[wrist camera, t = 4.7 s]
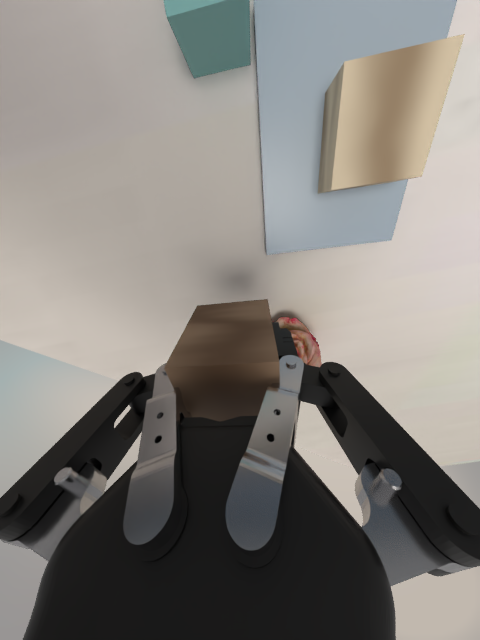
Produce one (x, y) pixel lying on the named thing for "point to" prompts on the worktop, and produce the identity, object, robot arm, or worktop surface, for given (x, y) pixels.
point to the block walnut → (225, 360)
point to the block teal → (211, 33)
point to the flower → (302, 341)
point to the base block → (384, 115)
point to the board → (308, 108)
